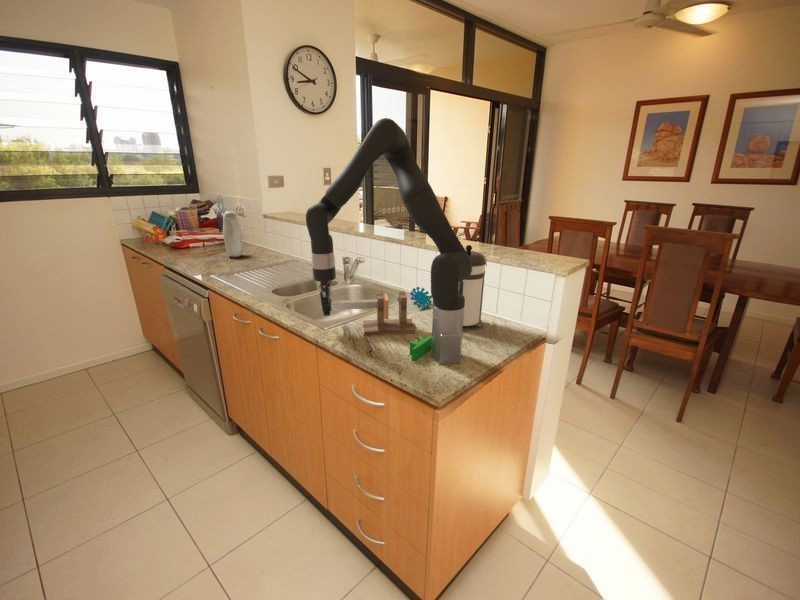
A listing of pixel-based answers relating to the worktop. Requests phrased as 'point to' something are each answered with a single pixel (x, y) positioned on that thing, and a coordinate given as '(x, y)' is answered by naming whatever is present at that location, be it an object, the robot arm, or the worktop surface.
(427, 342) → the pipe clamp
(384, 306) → the spacer
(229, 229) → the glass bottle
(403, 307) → the stand
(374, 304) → the shaft
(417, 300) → the teal spiky round piece
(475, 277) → the coffee press
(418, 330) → the worktop surface
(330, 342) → the worktop surface
